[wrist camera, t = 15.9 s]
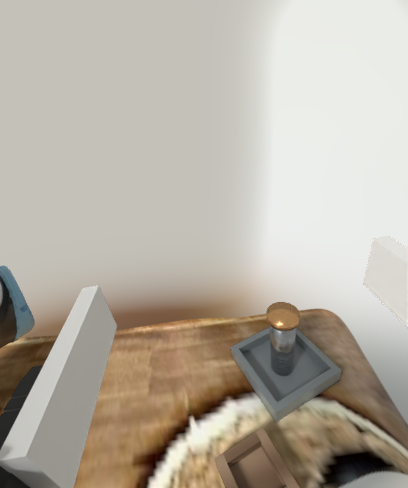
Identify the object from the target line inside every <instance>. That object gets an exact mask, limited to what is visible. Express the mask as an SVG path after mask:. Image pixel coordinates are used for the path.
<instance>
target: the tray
mask: <svg viewBox="0 0 408 488" xmlns="http://www.w3.org/2000/svg"><path fill="white" fill-rule="evenodd" d="M231 354H232V357H233V359H234V360H235V362H236V363H237V365H238V366H239V368H240V369H241V371H242V372H243V374H244V375H245V377H246V378H247V380H248V381H249V383H250V384H251V386H252V387H253V389H254V390H255V392H256V393H257V395H258V396H259V398H260V399H261V401H262V402H263V404H264V405H265V407H266V408H267V410H268V411H269V413H270V414H271V416H272V417H273V419H274V420H275V422H277V421H279V420H280V419H282V418H283V417H285V416H286V415H288V414H289V413H291V412H293V411H294V410H296V409H297V408H299V407H300V406H302V405H303V404H305V403H306V402H308V401H309V400H311V399H312V398H314V397H315V396H317V395H318V394H320V393H321V392H323V391H324V390H326V389H327V388H329V387H330V386H332V385H333V384H335V383H337V382H338V381H340V377H341V372H342V370H341V369H340V368H339V367H338V366H337V365H336V364H335V363H334V362H332V361H331V360H330V359H329V358H328V357H327V356H326V355H325V354H324V353H323V352H322V351H321V350H320V349H319V348H318V347H317V346H315V345H314V344H313V343H312V342H311V341H310V340H309V339H308V338H307V337H306V336H305V335H304V334H303V333H302V332H301V331H299V330H298V329H297V328H296V336H295V355H294V370H293V372H292V373H291V374H290V375H288V376H280V375H278V374H276V373H275V372H274V371H273V370H272V368H271V356H270V327H269V328H267V329H265V330H263V331H261V332H259V333H257V334H255V335H253V336H251V337H249V338H247V339H245V340H243V341H241V342H239V343H238V344H236V345H234V346H232V347H231Z"/></svg>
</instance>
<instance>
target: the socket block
mask: <svg viewBox="0 0 408 488" xmlns="http://www.w3.org/2000/svg"><path fill="white" fill-rule="evenodd" d="M215 461H216V465H217V468H218V470H219V473H220V475H221V478H222V480H223V482H224V485H225V487H226V488H300V487H299V486H298V484H297V482H296V481H295V479H294V478H293V476H292V474H291V473H290V471H289V469H288V468H287V466H286V464H285V463H284V461H283V460H282V458H281V456H280V455H279V453H278V451H277V450H276V448H275V447H274V445H273V443H272V442H271V440H270V438H269V437H268V435H267V433H266V432H265V430H264V429H263V427H262V428H261V429H259V430H258V431H256V432H254V433H253V434H251V435H250V436H248V437H247V438H245V439H244V440H242V441H241V442H239V443H238V444H236V445H235V446H233V447H232V448H230V449H228V450H227V451H225V452H224V453H222V454H221V455H219V456H218V457H216V458H215Z"/></svg>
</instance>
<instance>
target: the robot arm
mask: <svg viewBox="0 0 408 488" xmlns="http://www.w3.org/2000/svg"><path fill="white" fill-rule="evenodd" d="M363 284H364V285H365V286H366V287H367V288H368V289H369V290H370V291H371V292H372V293H373V294H374V295H375V296H376V297H377V298H378V299H379V300H380V301H381V302H382V303H383V304H384V305H385V306H386V307H387V308H388V309H389V310H390V311H391V312H392V313H393V314H394V315H395V316H396V317H397V318H398V319H399V320H400V321H401V322H402V323H403V324H404V325H405V326H406V327H407V328H408V248H407V247H405V246H404V245H402V244H401V243H399V242H397V241H396V240H395V239H393V238H391V237H390V236H386V237H380V238H374V239H373V242H372V246H371V251H370V256H369V260H368V264H367V269H366V274H365V279H364V283H363ZM33 326H34V318H33V315H32V313H31V311H30V309H29V307H28V305H27V303H26V301H25V299H24V296H23V294H22V292H21V290H20V288H19V286H18V284H17V282H16V280H15V279H14V277H13V275H12V273H11V271H10V270H9V269H8V268H7V267H6V266H0V348H1V347H3V346H5V345H7V344H9V343H10V342H11V343H12V342H14V341H16V340H18V338H19V337H21V336H22V335H24V334H26V333H27V332H29V331H30V330H31V329H32V328H33ZM116 328H117V325H116V322H115V321H114V318H113V316H112V314H111V312H110V309H109V307H108V305H107V303H106V301H105V298H104V296H103V294H102V292H101V290H100V287H99V286H98V285H97V286H91V287H86V288H82V290H81V293H80V294H79V296H78V298H77V300H76V302H75V304H74V306H73V308H72V310H71V312H70V314H69V316H68V318H67V320H66V322H65V324H64V326H63V328H62V330H61V332H60V334H59V336H58V338H57V340H56V342H55V344H54V346H53V348H52V350H51V351H50V353H49V355H48V357H47V359H46V361H45V363H44V365H42V366H36V367H33V368H32V369H31V370H30V371H29V372H28V373H27V374H26V375H25V376H24V377H23V378H22V380H21V381H20V382H19V384H18V386H17V387H16V389H15V391H14V393H13V395H12V396H11V400H9V402H8V403H7V405H6V407H5V409H4V413H3V414H1V416H0V488H73V487H74V484H75V480H76V476H77V473H78V469H79V465H80V462H81V458H82V454H83V450H84V447H85V443H86V439H87V436H88V432H89V428H90V424H91V421H92V417H93V413H94V410H95V406H96V402H97V399H98V395H99V391H100V387H101V384H102V380H103V376H104V373H105V369H106V365H107V362H108V358H109V354H110V350H111V347H112V343H113V339H114V336H115V332H116Z"/></svg>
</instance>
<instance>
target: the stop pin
mask: <svg viewBox="0 0 408 488" xmlns="http://www.w3.org/2000/svg"><path fill="white" fill-rule="evenodd" d="M299 320H300V314H299V311H298V309H297V308H296V307H295V306H293V305H291V304H289V303H285V302H277V303H274V304H272V305H270V306H269V307H268V309H267V321H268V323H269V325H270V356H271V368H272V370H273V371H274V372H275V373H276V374H278V375H280V376H288V375H290V374H291V373H292V372H293V370H294V355H295V336H296V327H297V326H298V324H299Z"/></svg>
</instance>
